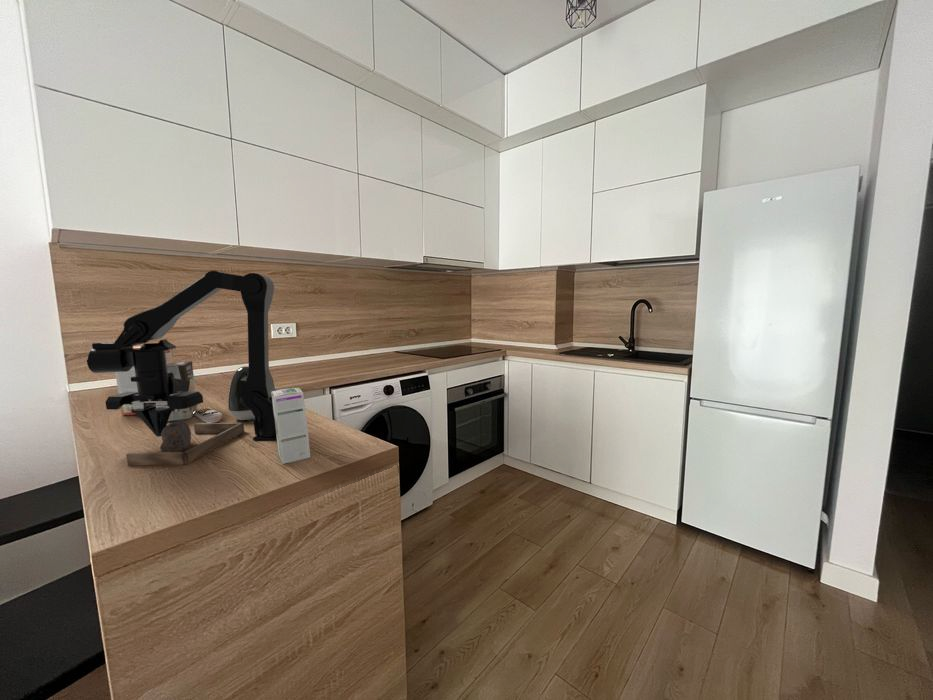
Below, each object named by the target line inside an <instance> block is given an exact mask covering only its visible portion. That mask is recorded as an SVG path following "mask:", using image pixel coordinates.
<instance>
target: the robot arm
mask: <svg viewBox="0 0 933 700" xmlns="http://www.w3.org/2000/svg"><path fill="white" fill-rule="evenodd" d="M221 290H226V291H227V290H229V291H234V292H235V291H236V292H240V296H241V299H242V303H243V305H244V306H245V309H246V313H247V343H248V344H247V345H248V346H247V349H248V350H247V351H248V354H247V355H248V367H249V371H248V375H247V376H246V377H244V378H243V379H241V380H239V385H240V395H239V398H241V397H242V401H243V404H244V405H245V406H247V407H248V408H250V409H251V411H252V413H253V415H254V416H255V419H254V420H252V421H253V428H254V430H253V431H254V435H255V436H254V437H253V438H252V440H253V441H264V440H265V441H271V440H272V441H275V440H276V441H277V436H276V427H275V419H274V411H273V402H272V391H276V387H275V382H274V379H273V376H272V374H271V371H270V365H269V364H270V361H269V360H270V359H269V358H270V357H269V311H270V308H271V305H272V302H273V296H274V291H275V283H274V281H273V280H272V279H270V277H269V276H266V275H263V274H259V273H255V272H249V273H247V274H245V275H240V274H231V273H225V272H224V271H223V272H222V271H218V270H209V271H207V272H206V273H205V274H204V275H203V276H202V277H200V278H199V279H197V280H196V281H194V282H192V283H191V284H190V285H189V286H187V287H185V288H184V289H182V290H181V291H179V292H178V293H176V294H175V295H173V296H172V297H170V298H169V299H168V300H166V301H164V302H163V303H161V304H160V305H158V306H155V307H152V308H150V309H146V310H144V311H141V312H139V313H136V314H134V315H131V317H129V318H127V319H126V320H124V322H123V330H122V332H121V333H120V334H119V336H118V337H117V338H116V340H115V341H114V342H106V341H99V342H93V343H91V346H92V347H91V348H92V349H90V351H89V353H88V355H87V359H86V365H87V367H88V369H89V370H90V371H91V372H92V373H94V374H105V373H106V374H107V373H108V374H109V373H115V372H127V371H129V370H130V369H131V368H132V367H133V366H134V368H135V376H134V377H131V382H136V383H137V390H138V392H125V393H121V394H119V393H117V394H114V395H110V396H108V397H107V399H106V400H105V409H106V410H108V411H109V410H116V411H117V410H121V407H122V406H123V405H124V404H133V406H134V410H131V413H135V414H136V416H137V417H138V418H139V419H140V420H141V421H142V422H143V423H144V424H145V425H146V426H147V428H148V429H149V430H150V431H151V432H152V433H153V435H154V436H155V437H157V438H159V437H161V432H162V430H163V429H164V428H165V427H166V426H167V425H168V422H169V421H168V419H169V416H170V414H171V412H172V411H173V410H174V409H186V408H189V407H192V406H195V405H200V404H202V403H204V397H203V394H202V393H201V392H200V391H189V386H190V381H188V380H182V379H175V378H174V374H173V373H172V372H168V369H167V362H166V353H165V350H171V349H172V350H175V349H176V348H177V346H176V345H175V344H173V343H171V342H170V341H168V339H162V338H163V337H165V335H167V333H169V331H170V330H172V328H173V327H174V326H175V324H176V323H177V321H178V320H180V319H181V317H183V316H184V315H186V314H187V313H188V312H191V311H192V310H193V309H195V308H196V307H197V306H199V305H200V304H202V303H203V302H205V301H206V300H208V299H209V298H210V297H213V295H215V294H217V293H218V292H219V291H221ZM159 339H160V340H159ZM155 340H159V341H158V342H152V343H151V342H150V341H155ZM140 345H141V348H133V347H135V346H140ZM177 393H179V394H177ZM171 394H175V395H172V396H170V395H171Z"/></svg>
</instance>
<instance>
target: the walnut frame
mask: <svg viewBox="0 0 933 700" xmlns="http://www.w3.org/2000/svg"><path fill="white" fill-rule="evenodd" d="M193 428H194V434H195V433H202V434H216V435H214V436H212V437H210V438H209V439H207V440H204V441H203V442H200V443H198V444H197V445H195V446H193V447H190V448H189V449H188V450H187V451H185V452H162V451H157V452H156V451H155V452H154V451H153V452H150V451H149V452H148V451H147V452H128V453H126V454H125V456H126V460H127V461H126V463H127V466H177V465H178V466H180V465H181V466H185V465H188V463H189V464H190V463H192V462H194V461H195V459H196V460H197V459H199V458H201V457H202V455H203V456H204V455H206V454H208V453H210V452H211V451H213V450H215V449H217V448H218V446H219V445H220V446H222V445H224V444H226V443H227V442H229V441H230V439H231V438H233V437H234V438H236V437H238V436H240V435H242V434H243V433H245V425H244V422H208V423H207V422H205V423H204V422H203V423H199V422H198V423H197V422H196V423H194V424H193ZM242 432H243V433H242ZM241 433H242V434H241ZM239 434H240V435H239ZM237 435H238V436H237ZM235 436H236V437H235ZM234 438H233V439H234ZM228 440H229V441H228ZM231 440H232V439H231ZM226 441H227V442H226ZM225 442H226V443H225ZM223 443H224V444H223ZM221 444H222V445H221ZM220 446H219V447H220ZM216 447H217V448H216ZM214 448H215V449H214ZM212 449H213V450H212ZM210 450H211V451H210ZM209 451H210V452H209ZM207 452H208V453H207ZM200 456H201V457H200ZM198 457H199V458H198ZM193 460H194V461H193Z"/></svg>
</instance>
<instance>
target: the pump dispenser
mask: <svg viewBox="0 0 933 700" xmlns="http://www.w3.org/2000/svg"><path fill="white" fill-rule="evenodd" d="M248 371H249V365H248V366H241V367H239V368H237V369H236V370H235V372H234V373H233V375H232V379H231V380H230V385H229V389H228V396H227V409H228V410H229V412H230V414H231V416H233V418H234V419H236V420H238V421H242V420H243V421H244V420H248V421H253V420H252V419H255V416H254V415H253V413H252V411H251V409H250V408H248V407H247V406H245V405H244V404H243V401H242V397H241V398H239V395H240V385H239V380H241V379H243V378H244V377H246V376H247V375H248ZM244 422H245V421H244Z"/></svg>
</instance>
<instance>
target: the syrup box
mask: <svg viewBox="0 0 933 700" xmlns="http://www.w3.org/2000/svg"><path fill="white" fill-rule="evenodd" d="M272 402H273V411H274V419H275V427H276V436H277V440H276V443H277V451H278V457H279V460H280V462H281V464H282V465H284V464H290V463H291V464H292V463H294V462H299V461H303V460H307V459H310V458H311V451H310V449H311V448H310V440H309V430H308V423H307V414H306V405H305V396H304V392H303V391H302V390H301V388H300V387H287V388H281V389H275V391H272Z"/></svg>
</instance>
